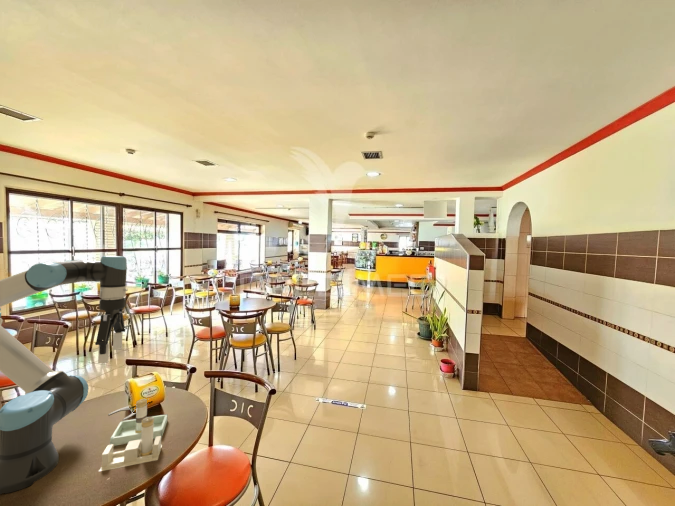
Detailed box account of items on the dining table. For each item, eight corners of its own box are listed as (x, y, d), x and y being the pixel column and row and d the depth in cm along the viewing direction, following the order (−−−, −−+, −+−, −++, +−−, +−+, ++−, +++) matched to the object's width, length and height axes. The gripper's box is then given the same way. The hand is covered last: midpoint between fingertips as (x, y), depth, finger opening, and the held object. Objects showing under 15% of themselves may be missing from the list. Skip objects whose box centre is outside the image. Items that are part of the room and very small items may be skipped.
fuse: (139, 459, 96) (140, 423, 95) (142, 452, 99) (143, 417, 99) (151, 456, 97) (152, 421, 97) (153, 449, 100) (154, 416, 100)
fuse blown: (134, 436, 107) (135, 404, 107) (136, 430, 110) (137, 399, 110) (145, 434, 108) (146, 402, 108) (147, 428, 111) (148, 398, 111)
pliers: (108, 411, 121) (142, 395, 135) (108, 415, 121) (142, 398, 135) (124, 417, 117) (157, 400, 132) (123, 421, 117) (157, 403, 132)
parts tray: (109, 448, 101) (110, 438, 101) (120, 430, 111) (120, 421, 111) (161, 439, 107) (162, 430, 107) (167, 422, 117) (167, 414, 117)
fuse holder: (98, 474, 90) (99, 458, 90) (108, 456, 97) (108, 442, 97) (157, 462, 96) (157, 447, 96) (162, 446, 103) (162, 432, 103)
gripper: (112, 303, 94) (110, 367, 94) (135, 292, 117) (133, 344, 117) (84, 304, 91) (81, 370, 91) (113, 293, 114) (111, 345, 115)
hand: (110, 355), depth 104 cm, fingers open, 13 cm apart
